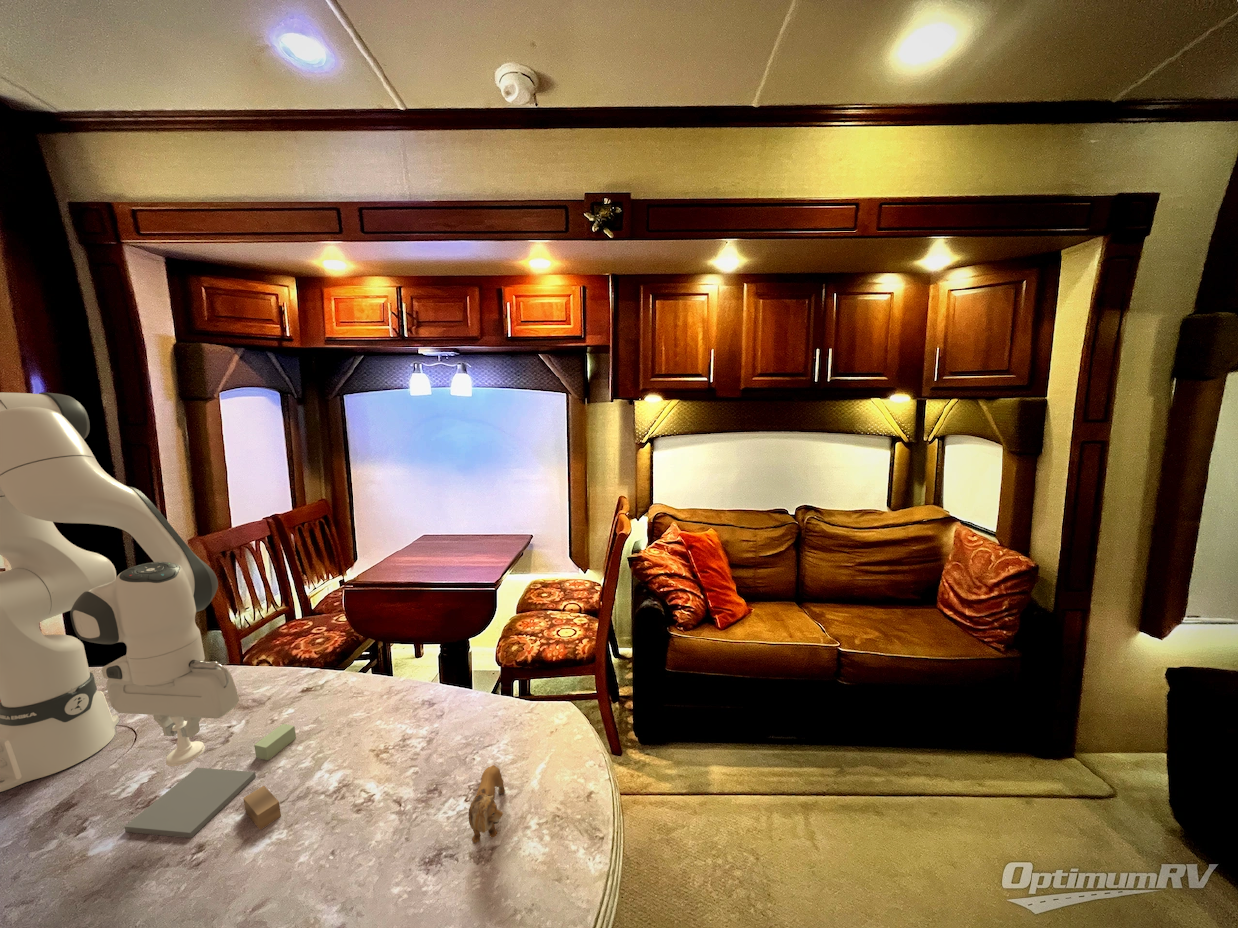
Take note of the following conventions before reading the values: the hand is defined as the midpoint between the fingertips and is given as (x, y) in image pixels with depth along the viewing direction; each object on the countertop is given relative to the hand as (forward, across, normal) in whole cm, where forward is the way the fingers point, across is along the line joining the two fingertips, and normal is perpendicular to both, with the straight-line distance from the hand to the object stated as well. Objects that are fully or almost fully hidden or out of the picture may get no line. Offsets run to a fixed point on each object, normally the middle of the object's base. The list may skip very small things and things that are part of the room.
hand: (182, 734), depth 79 cm
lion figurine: (+14, -53, -1) cm, 55 cm away
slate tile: (+14, 0, 0) cm, 14 cm away
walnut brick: (+14, -14, +1) cm, 20 cm away
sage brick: (+14, -4, -13) cm, 19 cm away
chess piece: (+4, 0, 0) cm, 4 cm away
